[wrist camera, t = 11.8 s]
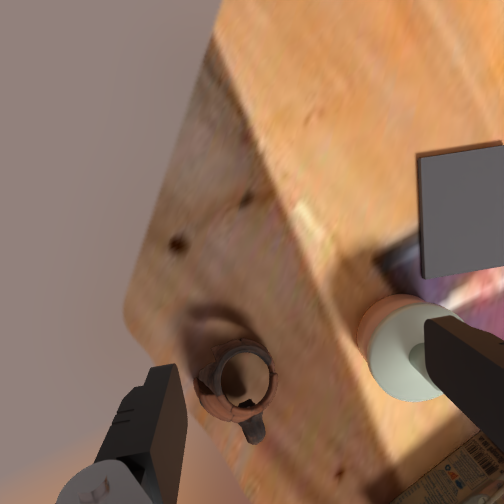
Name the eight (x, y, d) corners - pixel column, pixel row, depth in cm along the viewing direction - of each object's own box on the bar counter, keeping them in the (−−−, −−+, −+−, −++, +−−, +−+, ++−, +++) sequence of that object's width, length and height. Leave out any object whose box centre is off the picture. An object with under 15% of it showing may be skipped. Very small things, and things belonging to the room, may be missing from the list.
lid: (362, 312, 36) (385, 334, 31) (463, 294, 36) (502, 313, 31) (370, 403, 38) (393, 437, 33) (465, 385, 39) (501, 416, 34)
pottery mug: (174, 361, 42) (188, 366, 34) (239, 323, 46) (264, 320, 38) (220, 451, 41) (244, 476, 34) (281, 404, 45) (314, 418, 38)
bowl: (350, 298, 41) (367, 315, 36) (430, 284, 41) (459, 299, 36) (356, 372, 43) (374, 398, 38) (433, 358, 44) (460, 382, 39)
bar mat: (417, 158, 38) (420, 158, 38) (503, 145, 39) (507, 144, 38) (422, 278, 41) (425, 279, 41) (501, 264, 42) (505, 265, 41)
